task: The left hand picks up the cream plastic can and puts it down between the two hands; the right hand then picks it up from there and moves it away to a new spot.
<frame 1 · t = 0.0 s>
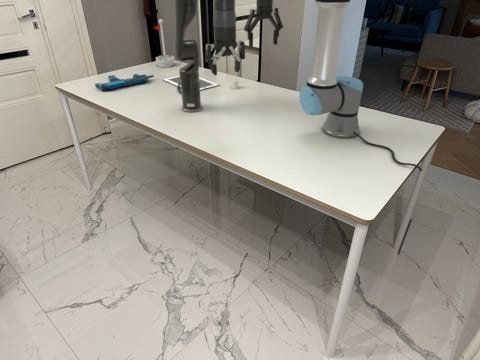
left hand: (225, 73, 122), 29 cm above the table, tool pointing down, fingers open, 8 cm apart
right hand: (263, 45, 167), 28 cm above the table, tool pointing down, fingers open, 13 cm apart
can: (235, 87, 200), on the table
submachine gun: (124, 82, 209), on the table
flag stand: (166, 65, 243), on the table
tablet: (190, 82, 208), on the table
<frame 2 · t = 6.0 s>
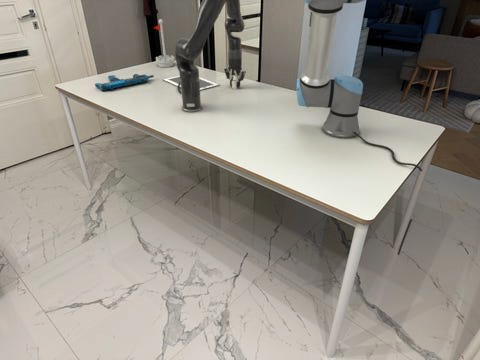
left hand: (235, 86, 200), 1 cm above the table, tool pointing down, fingers closed on can, 3 cm apart
right hand: (316, 28, 162), 36 cm above the table, tool pointing down, fingers open, 13 cm apart
can: (235, 87, 200), on the table, touching left hand
everything else where it was.
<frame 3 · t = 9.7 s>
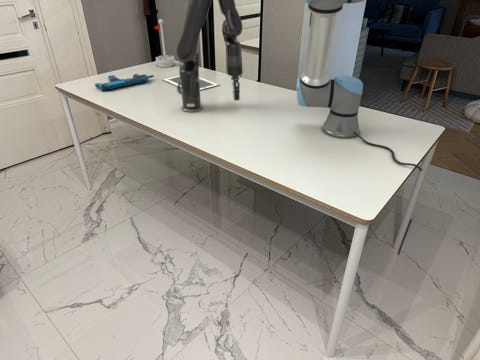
left hand: (236, 98, 173), 4 cm above the table, tool pointing down, fingers closed on can, 3 cm apart
right hand: (316, 28, 162), 36 cm above the table, tool pointing down, fingers open, 13 cm apart
can: (236, 99, 173), point 4 cm above the table, touching left hand
everything else where it was.
when the left hand's fingers open (1 cm above the table, at t = 13.6 s): can stays where it is, on the table.
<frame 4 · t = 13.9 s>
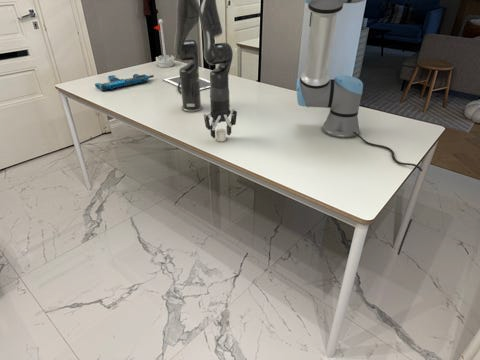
left hand: (221, 135, 142), 2 cm above the table, tool pointing down, fingers open, 6 cm apart
right hand: (316, 28, 162), 36 cm above the table, tool pointing down, fingers open, 13 cm apart
can: (221, 139, 143), on the table
everything else where it was.
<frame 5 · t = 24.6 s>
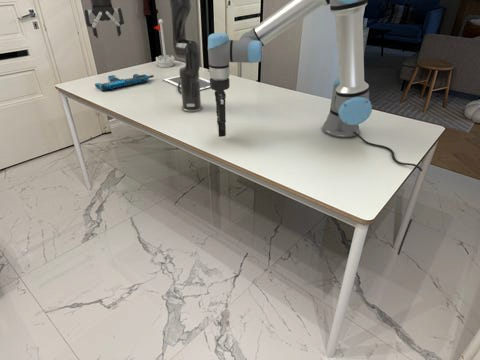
left hand: (108, 36, 139), 37 cm above the table, tool pointing down, fingers open, 8 cm apart
right hand: (221, 133, 141), 3 cm above the table, tool pointing down, fingers closed on can, 4 cm apart
can: (221, 134, 142), point 2 cm above the table, touching right hand
everything else where it was.
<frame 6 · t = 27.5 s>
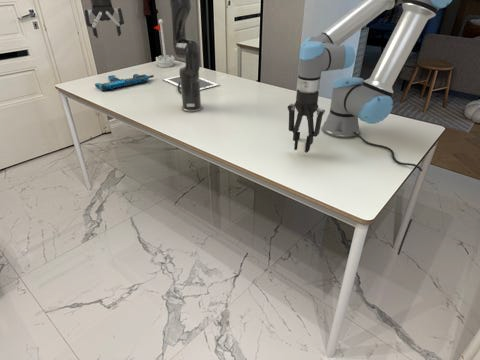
left hand: (108, 36, 139), 37 cm above the table, tool pointing down, fingers open, 8 cm apart
right hand: (301, 149, 130), 2 cm above the table, tool pointing down, fingers closed on can, 4 cm apart
can: (301, 150, 130), point 2 cm above the table, touching right hand
everything else where it was.
when the right hand's fingers open (0 cm above the table, at t = 30.6 s): can stays where it is, on the table.
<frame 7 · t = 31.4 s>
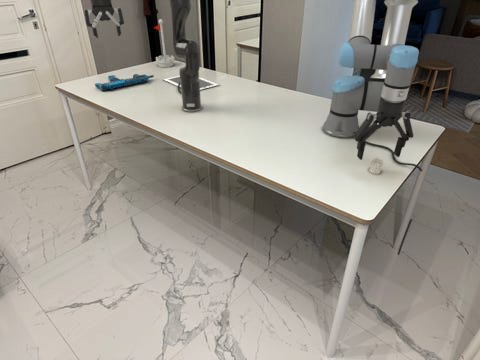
left hand: (108, 36, 139), 37 cm above the table, tool pointing down, fingers open, 8 cm apart
right hand: (378, 156, 119), 5 cm above the table, tool pointing down, fingers open, 13 cm apart
can: (374, 171, 121), on the table
everything else where it was.
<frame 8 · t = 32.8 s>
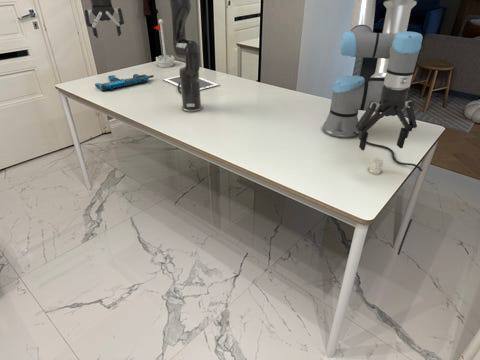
left hand: (108, 36, 139), 37 cm above the table, tool pointing down, fingers open, 8 cm apart
right hand: (380, 147, 116), 9 cm above the table, tool pointing down, fingers open, 13 cm apart
nothing on the table moved.
at the end: can inside the target area (0.1 cm from its centre), on the table; can tilted 0°; the two hands never held the can at the same time; the left hand is holding nothing; the right hand is holding nothing; can at rest at the end (0.0 cm/s) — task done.
